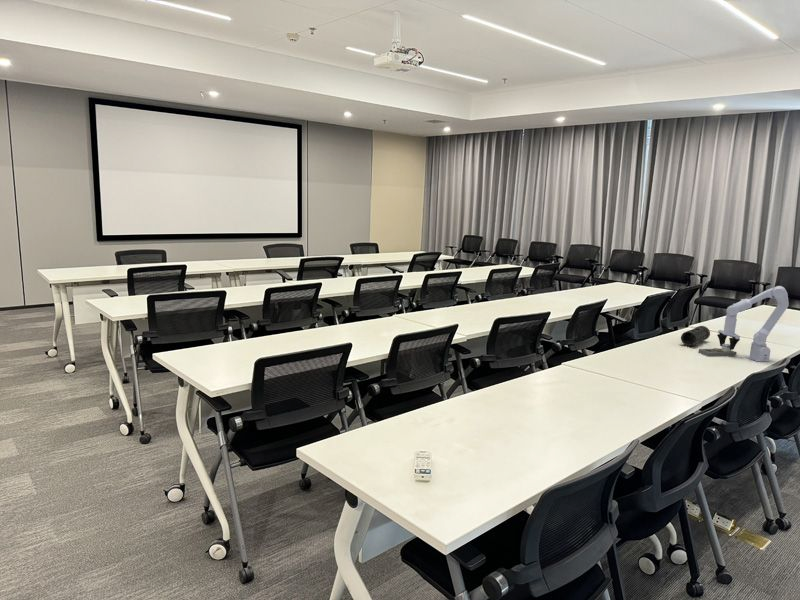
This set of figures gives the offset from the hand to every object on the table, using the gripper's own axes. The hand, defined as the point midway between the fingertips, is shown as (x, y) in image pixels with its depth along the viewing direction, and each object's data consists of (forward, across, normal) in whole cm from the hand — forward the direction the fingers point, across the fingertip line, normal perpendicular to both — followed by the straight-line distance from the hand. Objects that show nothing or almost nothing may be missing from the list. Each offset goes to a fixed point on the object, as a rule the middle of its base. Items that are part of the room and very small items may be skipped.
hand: (726, 347), depth 322 cm
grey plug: (+4, 0, 0) cm, 4 cm away
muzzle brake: (+4, -25, -1) cm, 25 cm away
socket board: (+4, 0, -6) cm, 7 cm away
